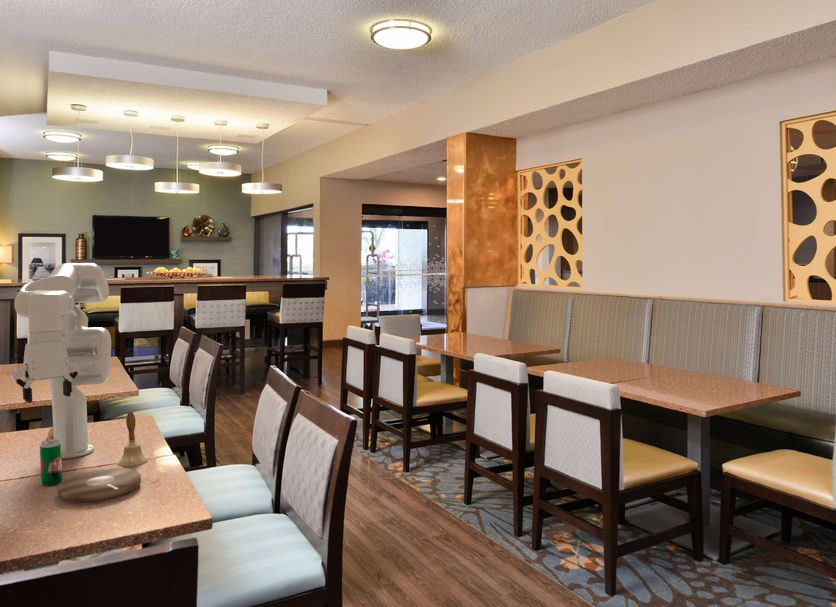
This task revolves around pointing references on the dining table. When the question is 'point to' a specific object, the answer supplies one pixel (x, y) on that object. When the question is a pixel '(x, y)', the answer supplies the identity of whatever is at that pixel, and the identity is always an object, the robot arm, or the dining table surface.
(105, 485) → the turntable
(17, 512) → the dining table surface
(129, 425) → the hand bell
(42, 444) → the soda can
